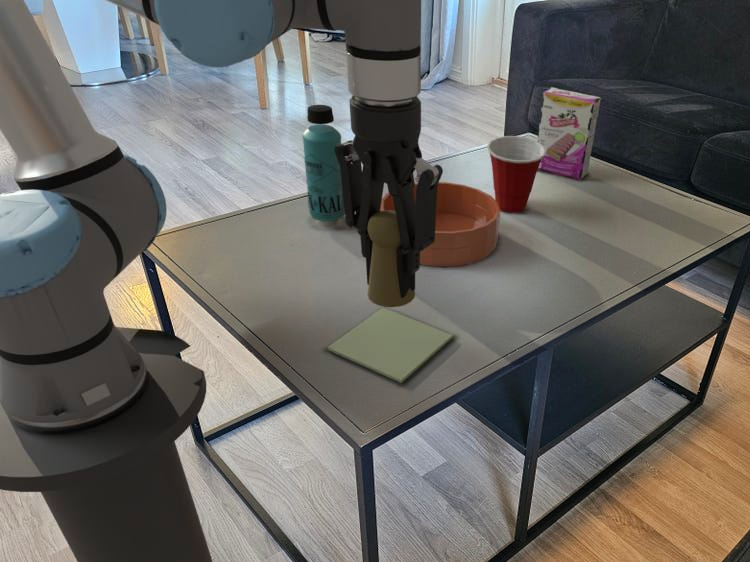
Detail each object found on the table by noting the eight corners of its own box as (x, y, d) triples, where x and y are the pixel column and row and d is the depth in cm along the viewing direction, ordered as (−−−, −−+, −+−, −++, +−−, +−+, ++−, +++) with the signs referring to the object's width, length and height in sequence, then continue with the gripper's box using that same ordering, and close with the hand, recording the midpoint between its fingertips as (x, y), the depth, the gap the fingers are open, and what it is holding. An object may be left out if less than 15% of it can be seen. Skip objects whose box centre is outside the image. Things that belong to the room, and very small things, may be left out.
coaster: (327, 350, 86) (327, 347, 85) (383, 309, 94) (383, 307, 94) (401, 383, 81) (401, 380, 81) (452, 337, 90) (452, 335, 89)
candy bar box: (532, 170, 141) (541, 91, 131) (540, 163, 145) (550, 86, 135) (581, 181, 138) (594, 101, 128) (588, 174, 141) (601, 96, 131)
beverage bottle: (316, 211, 118) (306, 98, 106) (352, 216, 118) (345, 102, 105) (304, 227, 113) (291, 110, 101) (341, 232, 113) (332, 114, 100)
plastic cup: (481, 217, 121) (486, 154, 113) (483, 193, 129) (488, 133, 122) (539, 221, 121) (547, 159, 114) (538, 198, 129) (545, 138, 122)
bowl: (357, 242, 110) (355, 209, 106) (424, 203, 124) (424, 173, 120) (457, 279, 102) (459, 245, 99) (517, 232, 117) (520, 201, 113)
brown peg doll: (413, 281, 86) (413, 204, 79) (416, 306, 81) (416, 226, 74) (367, 282, 85) (363, 204, 78) (367, 307, 80) (362, 226, 73)
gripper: (473, 104, 67) (463, 294, 82) (344, 73, 74) (357, 255, 88) (433, 121, 62) (430, 322, 76) (298, 87, 69) (319, 278, 83)
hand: (391, 286), depth 82 cm, fingers closed on brown peg doll, 4 cm apart
